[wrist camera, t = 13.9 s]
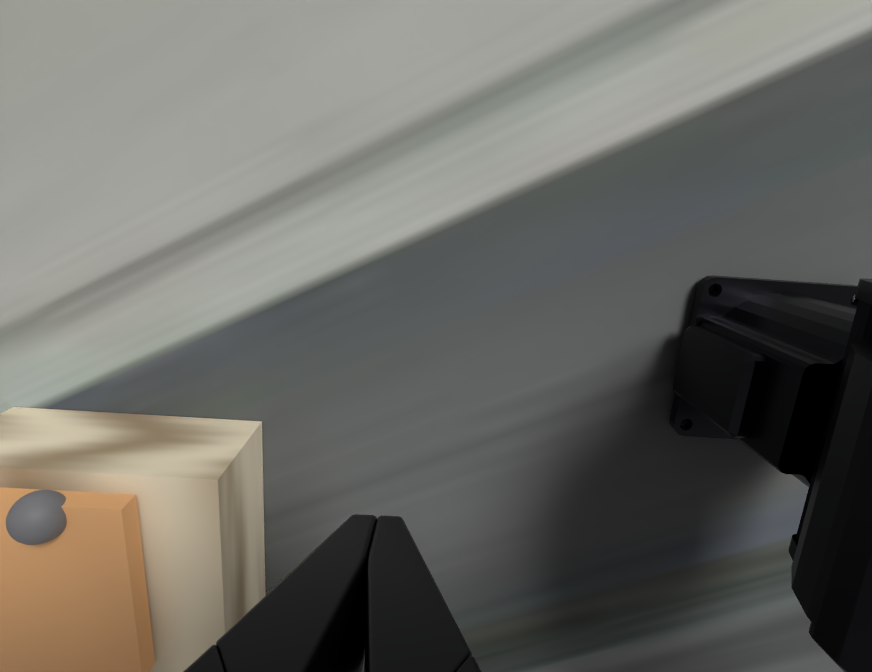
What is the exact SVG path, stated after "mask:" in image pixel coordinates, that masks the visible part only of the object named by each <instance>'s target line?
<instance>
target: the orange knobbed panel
mask: <svg viewBox="0 0 872 672" xmlns="http://www.w3.org/2000/svg"><path fill="white" fill-rule="evenodd" d="M154 664H155V656H154V647H153V638H152V630H151V621H150V612H149V604H148V595H147V586H146V578H145V569H144V560H143V552H142V543H141V534H140V525H139V517H138V508H137V499H136V495H134V494H115V493H97V492H78V491H59V490H41V489H22V488H4V487H0V672H150V671H151V669H152V667H153V666H154Z"/></svg>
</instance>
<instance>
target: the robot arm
mask: <svg viewBox="0 0 872 672" xmlns="http://www.w3.org/2000/svg"><path fill="white" fill-rule="evenodd" d="M713 284H715V285H716V291H715V292H714V293H713V294H712V295H710V294H709V288H710V286H711V285H713ZM854 295H855V300H854V302H852V303H851V298H852V296H854ZM673 390H674V391H675V397H674V401H673V406H672V411H671V416H670V425H671V427H672V429H674V430H675V431H676V432H677V433H678V434H679V435H683V436H696V437H713V438H730V439H739V440H740V441H741V442H743V443H744V444H745V445H746V446H748V447H749V448H750V449H752V450H753V451H754V452H756V453H757V454H758V455H759V456H761V457H762V458H763V459H765V460H766V461H767V462H768V463H770V464H771V465H772V466H774V467H775V468H776V469H778V470H779V471H780V472H782V473H785V474H792V475H793V476H795V477H796V478H797V479H799V480H800V481H801V482H803V483H804V484H805V485H807V486H808V487H809V490H808V494H807V498H806V501H805V505H804V509H803V513H802V516H801V520H800V524H799V528H798V531H797V534H794V535H793V536H792V539H791V542H790V546H789V553H790V556H791V558H792V560H793V563H792V589H793V591H794V593H795V595H796V597H797V599H798V601H799V602H800V604H801V606H802V608H803V610H804V612H805V614H806V615H807V617H808V618H809V619H810V621H811V624H810V628H809V633H810V635H811V637H812V638H813V639H814V641H815V642H816V643H817V644H818V645H819V646H820V647H821V648H822V649H823V650H824V651H825V652H826V653H827V654H828V655H829V657H830V658H831V659H832V660H833V661H834V662H835V663H836V664H837V665H838V666H839V667H840V668H841V669H842V670H843V671H844V672H872V279H860V280H859V283H858V286H854V285H842V284H827V283H813V282H798V281H784V280H769V279H755V278H740V277H726V276H707V277H705V278H703V279H702V280H701V281H700V282H699V284H698V286H697V289H696V294H695V299H694V304H693V309H692V314H691V319H690V323H689V327H688V328H687V329H686V330H685V331H684V334H683V339H682V344H681V349H680V354H679V359H678V364H677V369H676V374H675V379H674V384H673ZM684 419H688V421H687V423H686V424H685V425H684V426H680V423H681V421H683V420H684ZM364 655H365V670H364V672H481V670H480V668H479V666H478V665H477V663H476V661H475V659H474V657H472V654H471V651H470V649H469V647H468V646H467V644H466V642H465V640H464V638H463V636H462V634H461V632H460V630H459V628H458V626H457V624H456V622H455V620H454V618H453V616H452V614H451V612H450V610H449V608H448V606H447V605H446V603H445V601H444V599H443V597H442V595H441V593H440V591H439V589H438V587H437V585H436V583H435V581H434V579H433V577H432V575H431V573H430V571H429V569H428V567H427V565H426V563H425V562H424V560H423V558H422V556H421V554H420V552H419V550H418V548H417V546H416V544H415V542H414V540H413V538H412V536H411V534H410V532H409V530H408V528H407V526H406V524H405V522H404V521H403V519H402V518H401V517H399V516H380V517H378V519H377V518H376V517H375V516H374V515H356V514H355V515H352V516H351V517H350V518H349V519H348V520H347V521H345V522H344V523H343V524H342V525H341V526H340V527H339V528H338V529H337V530H336V531H335V532H334V533H333V534H331V535H330V536H329V537H328V538H327V539H326V540H325V541H324V542H323V543H322V544H321V545H320V546H319V547H317V548H316V549H315V550H314V551H313V552H312V553H311V554H310V555H309V556H308V557H307V558H306V559H305V560H303V561H302V562H301V563H300V564H299V565H298V566H297V567H296V568H295V569H294V570H293V571H292V572H291V573H289V574H288V575H287V576H286V577H285V578H284V579H283V580H282V581H281V582H280V583H279V584H278V585H277V586H275V587H274V588H273V589H272V590H271V591H270V592H269V593H268V594H267V595H266V596H265V597H264V598H263V599H261V600H260V601H259V602H258V603H257V604H256V605H255V606H254V607H253V608H252V609H251V610H250V611H249V612H247V613H246V614H245V615H244V616H243V617H242V618H241V619H240V620H239V621H238V622H237V623H236V624H235V625H233V626H232V627H231V628H230V629H229V630H228V631H227V632H226V633H225V634H224V635H223V636H222V637H221V638H219V639H218V640H217V642H216V645H212V646H211V647H209V648H208V649H207V650H206V651H205V652H204V653H203V654H202V655H201V656H200V657H199V658H198V659H197V660H195V661H194V662H193V663H192V664H191V665H190V666H189V667H188V668H187V669H185V670H184V671H183V672H361V671H362V666H363V661H364Z"/></svg>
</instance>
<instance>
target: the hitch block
mask: <svg viewBox="0 0 872 672" xmlns="http://www.w3.org/2000/svg"><path fill="white" fill-rule="evenodd" d="M0 487H4V488H22V489H41V490H59V491H78V492H97V493H115V494H134V495H136V499H137V508H138V517H139V525H140V534H141V543H142V552H143V560H144V569H145V578H146V586H147V595H148V604H149V612H150V621H151V630H152V638H153V647H154V656H155V664H154V666H153V667H152V669H151V671H150V672H183V671H184V670H185V669H187V668H188V667H189V666H190V665H191V664H192V663H193V662H194V661H195V660H197V659H198V658H199V657H200V656H201V655H202V654H203V653H204V652H205V651H206V650H207V649H208V648H209V647H211V646H212V645H216V642H217V640H218V639H219V638H221V637H222V636H223V635H224V634H225V633H226V632H227V631H228V630H229V629H230V628H231V627H232V626H233V625H235V624H236V623H237V622H238V621H239V620H240V619H241V618H242V617H243V616H244V615H245V614H246V613H247V612H249V611H250V610H251V609H252V608H253V607H254V606H255V605H256V604H257V603H258V602H259V601H260V600H261V599H263V598H264V597H265V596H266V594H265V546H264V497H263V449H262V422H261V421H244V420H227V419H210V418H193V417H176V416H159V415H142V414H125V413H107V412H90V411H73V410H56V409H39V408H22V407H13V408H11V409H9V410H7V411H5V412H3V413H1V414H0Z"/></svg>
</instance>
